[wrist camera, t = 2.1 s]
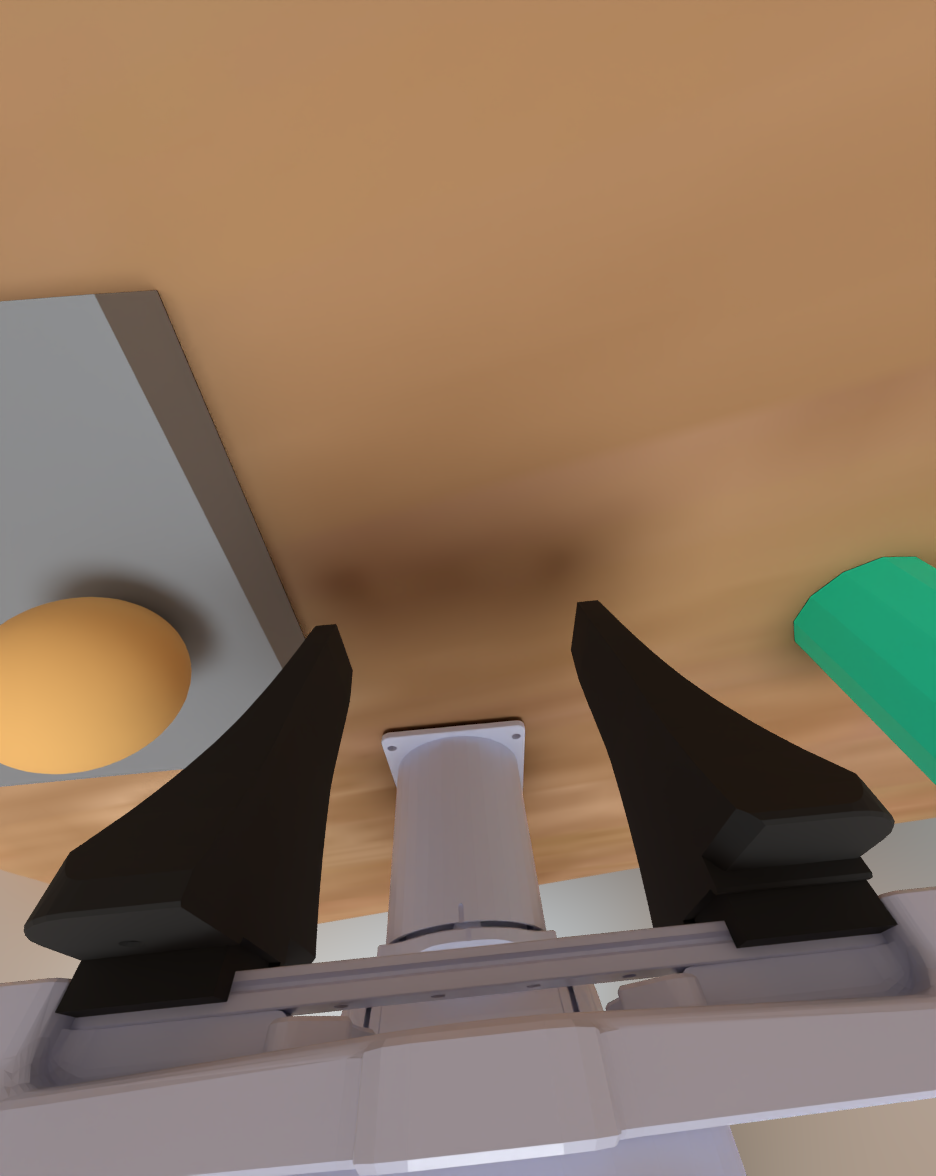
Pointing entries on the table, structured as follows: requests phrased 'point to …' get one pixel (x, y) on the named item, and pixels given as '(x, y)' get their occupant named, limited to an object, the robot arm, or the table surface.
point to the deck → (132, 506)
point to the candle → (881, 647)
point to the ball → (87, 683)
